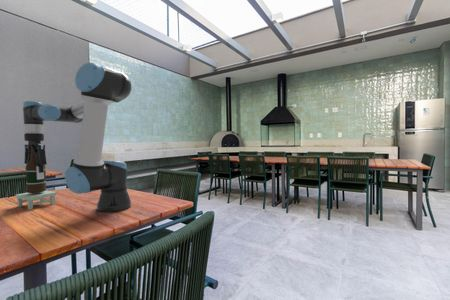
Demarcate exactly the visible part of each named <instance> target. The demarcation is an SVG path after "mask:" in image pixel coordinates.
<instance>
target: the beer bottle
mask: <svg viewBox="0 0 450 300" xmlns="http://www.w3.org/2000/svg"><path fill="white" fill-rule="evenodd" d="M31 145H33V144H31ZM31 145H30V147H31ZM36 165H37V161H36V157H35V154H34V153H33V151H32V148H31V154H30V161H29V162H28V163H27V165H25V190H26V193H39V192H43V191H47V178H46V177H47V174H46V165H44V179H39V180H37V168H36Z"/></svg>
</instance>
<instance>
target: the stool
mask: <svg viewBox="0 0 450 300" xmlns="http://www.w3.org/2000/svg"><path fill="white" fill-rule="evenodd" d="M55 196H57V191H51V190H46V191H43V192H39V193H27V192H23V193H17V194H15V196H14V197H15V198H16V199H17V207H18V208H23V206H24V205H23V203H27V210H29V211H31V210H33V209H34V206H36V205H39V204H46V203H50V205H55V204H56V197H55ZM45 198H49V199H45ZM38 200H39V201H38ZM33 201H35V202H33Z"/></svg>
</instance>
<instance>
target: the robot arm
mask: <svg viewBox="0 0 450 300" xmlns="http://www.w3.org/2000/svg"><path fill="white" fill-rule="evenodd" d="M74 79H75V80H74V83H75V87H76V88H77V89H78V90H79V91H80V97H82V99H83V100H80V101H79V102H77V103H76V104H74V105H71V107H66V106H58V105H55V104H49V103H47V104H44V103H43V102H40V101H36V100H35V101H34V100H27V101H24V102H23V106H22V111H23V112H22V113H23V116H22V117H23V132H24V135H23V136H24V137H23V139H24V141H25V142H27V144H24V164H26V165H27V163H28V162H29V161H30V154H31V148H32V151H33V153H34V154H35V157H36V161H37V165H36V168H37V180H39V179H44V165H45V166H46V165H47V157H46V145H45V144H42V142H44V140H45V134H44V129H45V126H44V121H45V122H46V121H49V122H63V123H74V124H78V123H79V124H80V123H81V130H80V138H79V140H80V141H79V148H78V157H76V158H75V159H73V161H72V166H70V167H68V168H67V169H66V170H65V173H64V180H65V184H66V186H67V188H68V189H69V190H70V192H71V193H73V194H77V195H81V194H88V193H92V192H96V191H100V194H99V197H98V201H97V204H96V210H97V211H98V212H103V213H105V212H107V213H109V212H110V213H111V212H119V211H123V210H127V209H129V208H130V207H131V206H132V200H131V198H130V196H129V191H128V169H127V167H128V166H127V163H126V161H117V160H103V159H102V154H103V147H104V140H105V139H104V138H105V133H106V132H105V131H106V124H107V123H106V122H107V117H108V109H109V106H110V105H111V104H114V103H116V104H117V103H120V102H121V101H124V100H125V99H127V98H128V97H129V96H130V94H131V92H132V82H131V80H130V78H129V76H127V75H126V74H125V73H124V72H123V71H119V70H116V69H112V68H111V67H108V66H105V65H102V64H99V63H95V62H94V63H93V62H86V63H83V64H82V65H81V66H79V68H78V70H77V71H76V74H75V78H74ZM31 144H33V145H31ZM30 145H31V147H30ZM26 165H25V166H26Z"/></svg>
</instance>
